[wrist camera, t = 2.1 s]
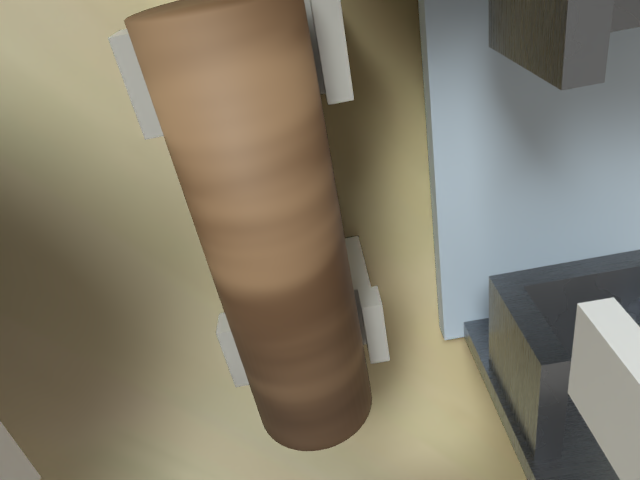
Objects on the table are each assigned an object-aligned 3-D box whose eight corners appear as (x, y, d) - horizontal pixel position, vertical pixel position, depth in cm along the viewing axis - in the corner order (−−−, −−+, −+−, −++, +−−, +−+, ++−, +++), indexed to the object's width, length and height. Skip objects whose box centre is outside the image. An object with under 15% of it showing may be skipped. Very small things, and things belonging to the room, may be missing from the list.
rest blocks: (243, 308, 26) (235, 387, 22) (148, 10, 19) (107, 37, 14) (371, 285, 26) (389, 360, 22) (325, -25, 19) (339, -8, 14)
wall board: (439, 327, 28) (444, 340, 27) (407, -165, 17) (414, -170, 16) (648, 291, 27) (660, 303, 27) (754, -236, 16) (780, -245, 16)
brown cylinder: (363, 353, 23) (380, 440, 19) (262, 370, 23) (259, 460, 19) (298, -25, 15) (305, -7, 11) (146, 5, 15) (101, 34, 11)
